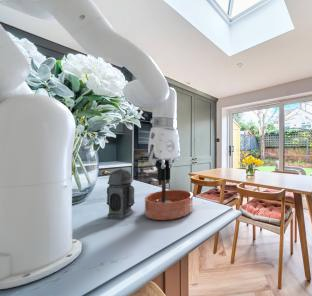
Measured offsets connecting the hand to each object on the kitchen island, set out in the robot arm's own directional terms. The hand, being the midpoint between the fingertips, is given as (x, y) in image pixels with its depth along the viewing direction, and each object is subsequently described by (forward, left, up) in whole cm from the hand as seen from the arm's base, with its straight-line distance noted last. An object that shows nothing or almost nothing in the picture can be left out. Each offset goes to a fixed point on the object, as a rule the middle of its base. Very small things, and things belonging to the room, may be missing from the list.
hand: (163, 179), depth 56 cm
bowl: (+1, -1, -11) cm, 11 cm away
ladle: (0, 0, -10) cm, 10 cm away
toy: (-8, +11, -11) cm, 17 cm away
